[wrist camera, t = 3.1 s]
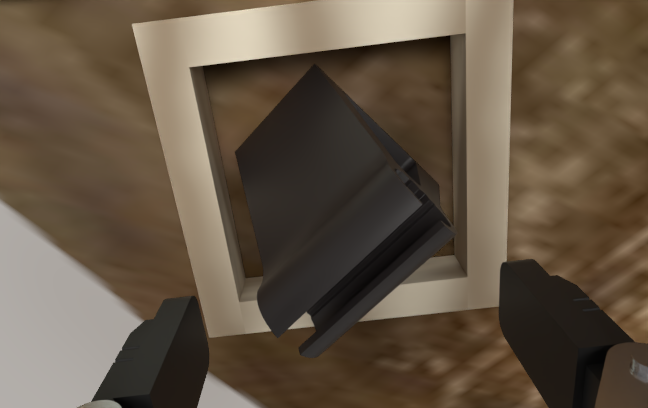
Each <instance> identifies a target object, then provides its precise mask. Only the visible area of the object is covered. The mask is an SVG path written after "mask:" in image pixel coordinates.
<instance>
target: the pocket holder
mask: <svg viewBox="0 0 648 408" xmlns="http://www.w3.org/2000/svg"><path fill="white" fill-rule="evenodd" d="M132 27H133V31H134V35H135V39H136V43H137V47H138V51H139V55H140V59H141V63H142V67H143V71H144V75H145V79H146V83H147V87H148V91H149V96H150V100H151V104H152V108H153V112H154V116H155V120H156V124H157V128H158V132H159V136H160V140H161V144H162V148H163V152H164V156H165V160H166V164H167V168H168V172H169V177H170V181H171V185H172V189H173V193H174V197H175V201H176V205H177V209H178V213H179V217H180V221H181V225H182V229H183V233H184V237H185V241H186V245H187V249H188V253H189V257H190V262H191V266H192V270H193V274H194V278H195V282H196V286H197V290H198V294H199V298H200V302H201V306H202V310H203V314H204V318H205V322H206V326H207V330H208V334H209V338H212V337H221V336H230V335H239V334H249V333H258V332H267V331H271V330H270V328H269V327H268V325H267V324H266V322H265V320H264V319H263V317H262V315H261V312H260V310H259V307H258V303H257V291H258V289H259V287H260V286H261V283H262V280H263V276H261V277H252V278H246V277H245V272H244V268H243V263H242V258H241V253H240V248H239V243H238V238H237V233H236V228H235V223H234V218H233V213H232V208H231V203H230V198H229V193H228V188H227V183H226V178H225V174H224V169H223V164H222V159H221V154H220V149H219V144H218V139H217V134H216V129H215V124H214V119H213V114H212V109H211V104H210V99H209V94H208V89H207V84H206V80H205V75H204V70H203V66H204V65H212V64H220V63H228V62H237V61H245V60H253V59H261V58H269V57H277V56H285V55H293V54H301V53H309V52H318V51H326V50H334V49H342V48H350V47H358V46H366V45H374V44H382V43H390V42H399V41H407V40H415V39H423V38H431V37H439V36H447V35H450V47H451V101H452V156H453V210H454V227H455V229H456V230H457V233H458V234H457V235H456V236H455V237H454V255H450V256H441V257H432V258H430V259H428V260H427V261H426V262H425V263H424V264H423V265H422V266H420V267H419V268H418V269H417V270H416V271H415V272H414V273H412V274H411V275H410V276H409V277H408V278H407V279H406V280H405V281H403V282H402V283H401V284H400V285H399V286H398V287H397V288H395V289H394V290H393V291H392V292H391V293H390V294H389V295H387V296H386V297H385V298H384V299H383V300H382V301H381V302H380V303H378V304H377V305H376V306H375V307H374V308H373V309H372V310H370V311H369V312H368V313H367V314H366V315H365V316H364V317H363V318H361V319H360V320H359V321H358V322H360V321H369V320H378V319H387V318H397V317H406V316H415V315H424V314H433V313H443V312H452V311H461V310H470V309H480V308H489V307H498V306H499V287H500V267H501V264H502V263H503V262H506V261H507V224H508V186H509V149H510V111H511V74H512V36H513V0H319V1H311V2H303V3H295V4H287V5H279V6H271V7H263V8H255V9H247V10H240V11H232V12H224V13H216V14H208V15H200V16H192V17H184V18H176V19H168V20H160V21H152V22H145V23H137V24H132ZM313 326H314V324H313V322H312V320H311V316H310V315H309V314H307V312H306V313H304V314H303V315H302V316H301V317H300V318H299V319H298V320H297V321H296V322H295V323H294V324H293V325H291V326H290V327H289V328H288V329H295V328H304V327H313Z"/></svg>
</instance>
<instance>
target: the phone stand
mask: <svg viewBox="0 0 648 408" xmlns="http://www.w3.org/2000/svg"><path fill="white" fill-rule="evenodd" d="M235 154H236V158H237V162H238V166H239V170H240V174H241V178H242V182H243V186H244V190H245V195H246V199H247V203H248V207H249V211H250V215H251V219H252V223H253V227H254V231H255V235H256V239H257V244H258V248H259V252H260V256H261V260H262V264H263V280H262V283H261V286H260V287H259V289H258V291H257V303H258V307H259V310H260V312H261V315H262V317H263V319H264V320H265V322H266V324H267V325H268V327H269V328H270V330H271V331H272V332H273V333H274V335H275V336H276V337H277V338H278V337H280V336H281V335H282V334H283V333H284V332H285V331H286V330H287V329H288V328H289V327H290V326H291V325H293V324H294V323H295V322H296V321H297V320H298V319H299V318H300V317H301V316H302V315H303V314H304V313H306V312H307V314H309V315H310V316H311V320H312V322H313V324H314V326H315V328H316V332H315V333H314V334H313V335H312V336H311V337H310V338H309V339H308V340H306V341H305V342H304V343H303V344H302V345H301V346H300V347H299V352H300V355H302V356H304V357H308V358H315V357H318V356H319V355H320V354H322V353H323V352H324V351H325V350H326V349H327V348H328V347H330V346H331V345H332V344H333V343H334V342H335V341H336V340H338V339H339V338H340V337H341V336H342V335H343V334H344V333H345V332H347V331H348V330H349V329H350V328H351V327H352V326H353V325H355V324H356V323H357V322H358V321H359V320H360V319H361V318H363V317H364V316H365V315H366V314H367V313H368V312H369V311H370V310H372V309H373V308H374V307H375V306H376V305H377V304H378V303H380V302H381V301H382V300H383V299H384V298H385V297H386V296H387V295H389V294H390V293H391V292H392V291H393V290H394V289H395V288H397V287H398V286H399V285H400V284H401V283H402V282H403V281H405V280H406V279H407V278H408V277H409V276H410V275H411V274H412V273H414V272H415V271H416V270H417V269H418V268H419V267H420V266H422V265H423V264H424V263H425V262H426V261H427V260H428V259H430V258H431V257H432V256H433V255H434V254H435V253H436V252H437V251H439V250H440V249H441V248H442V247H443V246H444V245H445V244H447V243H448V242H449V241H450V240H451V239H452V238H453V237H455V236H456V235H457V234H458V233H457V230H456V229H455V227H454V226H453V224H452V223H451V222H450V221H449V219H448V218H447V216H446V215H445V214H444V212H443V211H442V209H441V207H440V194H439V184H438V183H437V182H436V181H435V180H434V179H433V178H432V177H431V176H430V175H429V174H428V173H427V172H426V171H425V170H424V169H423V168H422V167H421V166H420V165H419V164H418V163H417V162H416V161H415V160H413V159H412V158H411V157H410V156H409V155H408V154H407V153H406V152H405V151H404V150H403V149H402V148H401V147H400V146H399V145H398V144H397V143H396V142H395V141H394V140H393V139H392V138H391V137H390V136H389V135H388V134H387V133H386V132H385V131H384V130H383V129H382V128H380V127H379V126H378V125H377V124H376V122H374V121H373V120H372V119H371V118H370V117H369V116H368V115H367V114H366V113H365V112H364V111H363V110H362V109H361V108H360V107H359V106H358V105H357V104H356V103H355V102H354V101H353V100H352V99H351V98H350V97H349V96H348V95H347V94H346V93H345V92H344V91H343V90H342V89H341V88H340V87H339V86H338V85H337V84H336V83H334V82H333V81H332V80H331V79H330V78H329V77H328V76H327V75H326V74H325V73H324V72H323V71H322V70H321V69H320V68H319V67H318V66H317V65H316V64H314V65H313V66H312V67H311V68H310V69H309V70H308V71H307V73H306V74H305V75H304V76H303V77H302V78H301V79H300V80H299V81H298V83H297V84H296V85H295V86H294V87H293V88H292V89H291V90H290V91H289V93H288V94H287V95H286V96H285V97H284V98H283V99H282V100H281V101H280V103H279V104H278V105H277V106H276V107H275V108H274V109H273V110H272V111H271V113H270V114H269V115H268V116H267V117H266V118H265V119H264V120H263V121H262V123H261V124H260V125H259V126H258V127H257V128H256V129H255V130H254V131H253V133H252V134H251V135H250V136H249V137H248V138H247V139H246V140H245V141H244V143H243V144H242V145H241V146H240V147H239V148H238V149H237V150H236V151H235Z"/></svg>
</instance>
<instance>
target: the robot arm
mask: <svg viewBox="0 0 648 408" xmlns="http://www.w3.org/2000/svg"><path fill="white" fill-rule="evenodd" d="M499 321H500V326H501V329H502V332H503V335H504V337H505V339H506V340H507V342H508V343H509V345H510V347H511V348H512V350H513V351H514V353H515V355H516V356H517V358H518V359H519V361H520V363H521V364H522V366H523V367H524V369H525V371H526V372H527V374H528V375H529V377H530V378H531V380H532V382H533V383H534V385H535V386H536V388H537V390H538V391H539V393H540V394H541V396H542V398H543V399H544V401H545V402H546V404H547V405H548V407H549V408H648V344H644V343H637V342H634V341H633V340H632V339H631V338H630V337H629V336H628V335H627V334H626V333H625V332H624V331H623V330H622V329H621V328H620V327H619V326H618V325H617V324H616V323H615V322H614V321H613V320H612V319H611V318H610V317H609V316H608V315H607V314H606V313H605V312H604V311H603V310H600V309H599V307H598V306H597V305H596V304H595V303H594V302H593V301H592V300H589V297H588V296H587V295H586V294H585V293H584V292H583V291H582V290H581V289H580V288H579V287H578V286H577V285H575V284H573V283H571V282H569V281H567V280H565V279H563V278H561V277H559V276H557V275H556V276H550V275H549V274H548V273H547V272H546V271H545V270H544V269H543V268H542V267H541V266H540V265H539V264H538V263H537V262H536V261H535V260H533V259H527V260H518V261H509V262H503V263H502V264H501V267H500V287H499ZM115 360H116V361H115V363H113V365H112V366H111V368H110V370H109V372H108V373H107V375H106V377H105V379H104V380H103V382H102V384H101V385H100V387H99V389H98V391H97V392H96V394H95V396H94V398H93V399H92V401H91V402H89V403H87V404H84V405H82V406H80V407H77V408H197V406H198V402H199V398H200V395H201V391H202V388H203V384H204V381H205V378H206V374H207V371H208V366H209V348H208V342H207V338H206V334H205V330H204V325H203V321H202V317H201V313H200V309H199V305H198V301H197V299H196V297H195V296H188V297H179V298H170V299H165V300H164V301H163V303H162V305H161V307H160V308H159V310H158V312H157V314H156V316H155V318H154V319H153V320H145V321H144V322H143V323H142V324H141V325H140V326H138V327H137V328H136V329H135V330H134V331H133V332H131V334H130V335H129V337H128V338H127V340H126V342H125V344H124V345H123V347H122V351H120V352H119V354H118V356H117V358H116V359H115Z"/></svg>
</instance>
